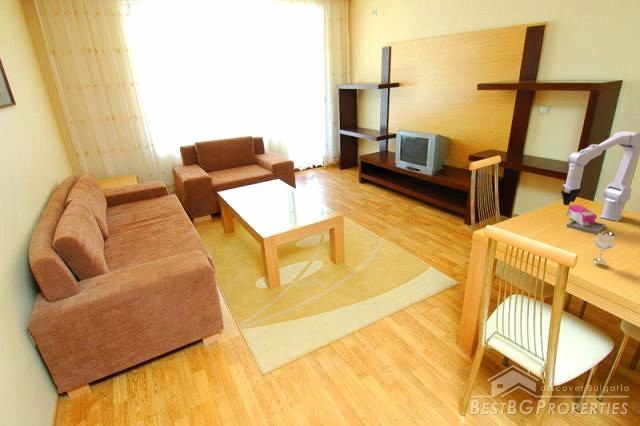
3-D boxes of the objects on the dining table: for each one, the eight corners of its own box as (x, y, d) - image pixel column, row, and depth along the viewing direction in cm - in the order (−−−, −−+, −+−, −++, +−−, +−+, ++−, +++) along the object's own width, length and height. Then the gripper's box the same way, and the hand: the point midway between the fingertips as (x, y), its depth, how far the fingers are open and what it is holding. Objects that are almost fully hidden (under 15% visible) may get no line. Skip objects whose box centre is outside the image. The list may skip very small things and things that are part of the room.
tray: (574, 220, 176) (575, 217, 175) (605, 227, 166) (605, 224, 166) (566, 227, 168) (566, 224, 168) (597, 234, 159) (598, 231, 159)
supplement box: (577, 214, 177) (593, 225, 167) (566, 215, 177) (581, 226, 167) (581, 204, 174) (597, 215, 164) (569, 205, 174) (585, 216, 164)
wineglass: (586, 258, 138) (593, 231, 134) (599, 257, 138) (606, 230, 134) (598, 265, 133) (606, 237, 128) (612, 264, 133) (620, 236, 129)
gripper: (570, 173, 173) (564, 198, 178) (559, 178, 165) (554, 204, 169) (586, 175, 168) (580, 201, 172) (576, 180, 159) (570, 208, 164)
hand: (568, 203), depth 171 cm, fingers open, 7 cm apart
